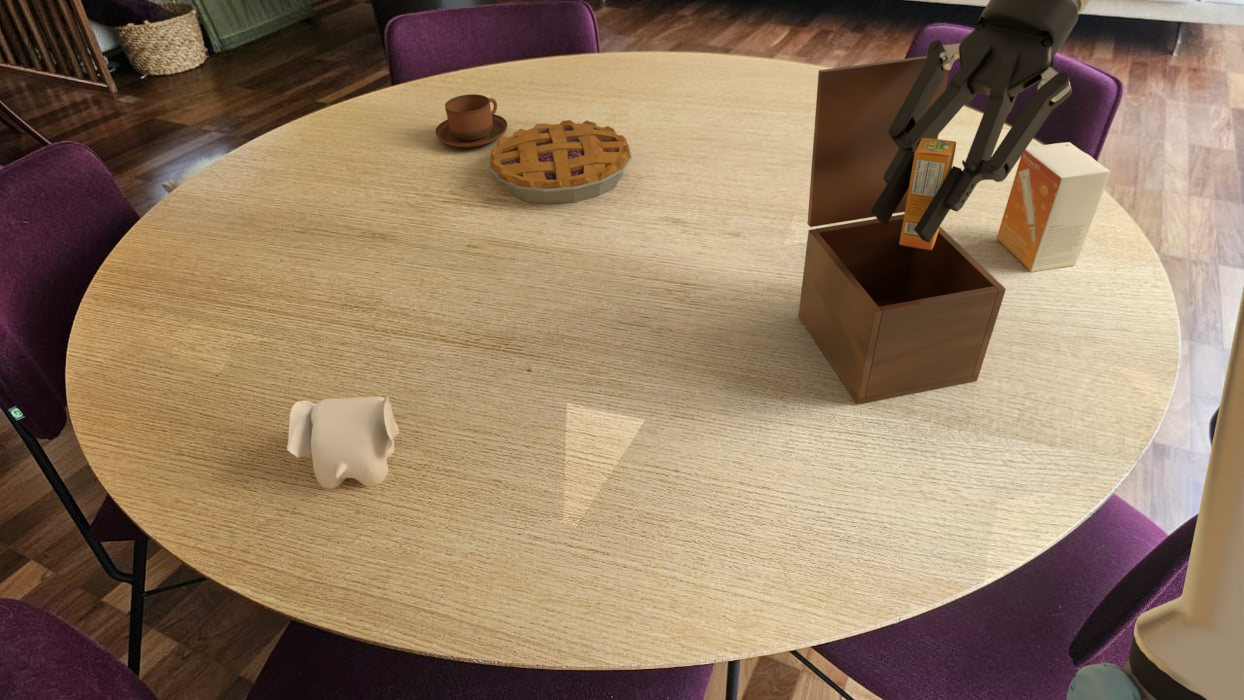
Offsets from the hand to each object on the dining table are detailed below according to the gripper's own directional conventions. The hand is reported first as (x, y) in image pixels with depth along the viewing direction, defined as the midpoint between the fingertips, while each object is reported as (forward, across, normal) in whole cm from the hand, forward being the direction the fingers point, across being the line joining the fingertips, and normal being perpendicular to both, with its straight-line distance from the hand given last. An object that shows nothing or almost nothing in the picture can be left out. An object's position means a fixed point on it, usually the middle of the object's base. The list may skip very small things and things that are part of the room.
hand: (900, 226), depth 75 cm
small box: (-11, 0, -37) cm, 39 cm away
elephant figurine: (+46, +26, +20) cm, 56 cm away
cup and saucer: (+12, +82, -15) cm, 84 cm away
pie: (+10, +60, -16) cm, 63 cm away
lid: (-8, +9, -4) cm, 13 cm away
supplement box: (0, 0, -5) cm, 5 cm away
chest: (+10, +2, -16) cm, 19 cm away
